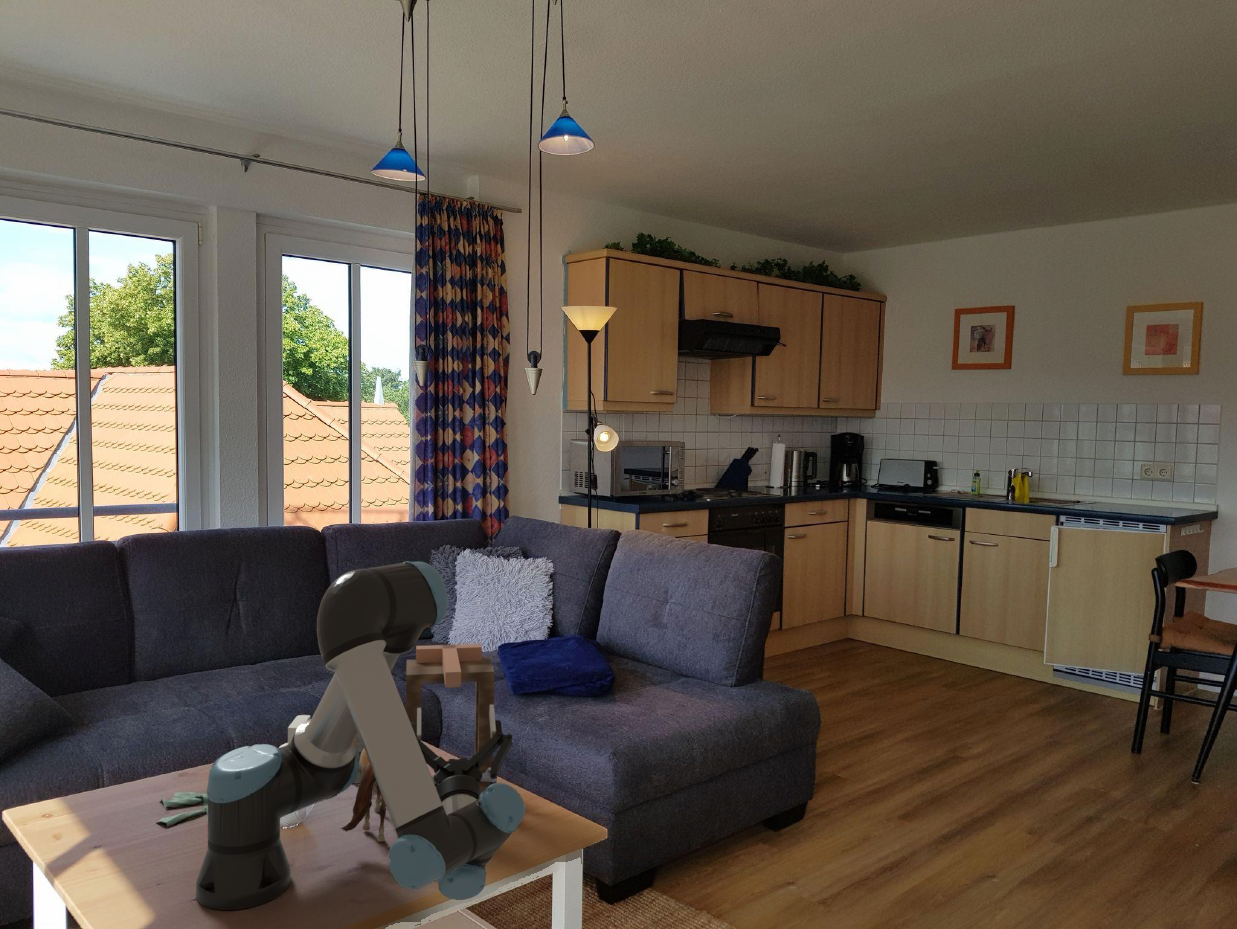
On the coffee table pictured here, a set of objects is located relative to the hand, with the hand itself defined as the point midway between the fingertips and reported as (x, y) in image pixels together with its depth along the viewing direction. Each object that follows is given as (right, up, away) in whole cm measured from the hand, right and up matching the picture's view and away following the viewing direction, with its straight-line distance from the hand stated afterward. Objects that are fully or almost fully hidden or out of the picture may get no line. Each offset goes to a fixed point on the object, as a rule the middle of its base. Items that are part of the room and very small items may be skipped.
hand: (455, 710), depth 169 cm
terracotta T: (-4, +4, +15) cm, 16 cm away
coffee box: (-26, -25, +35) cm, 51 cm away
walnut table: (-6, -26, +22) cm, 34 cm away
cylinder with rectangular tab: (-43, -25, +36) cm, 62 cm away
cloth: (-59, -26, +15) cm, 66 cm away
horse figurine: (-21, -26, +12) cm, 35 cm away
